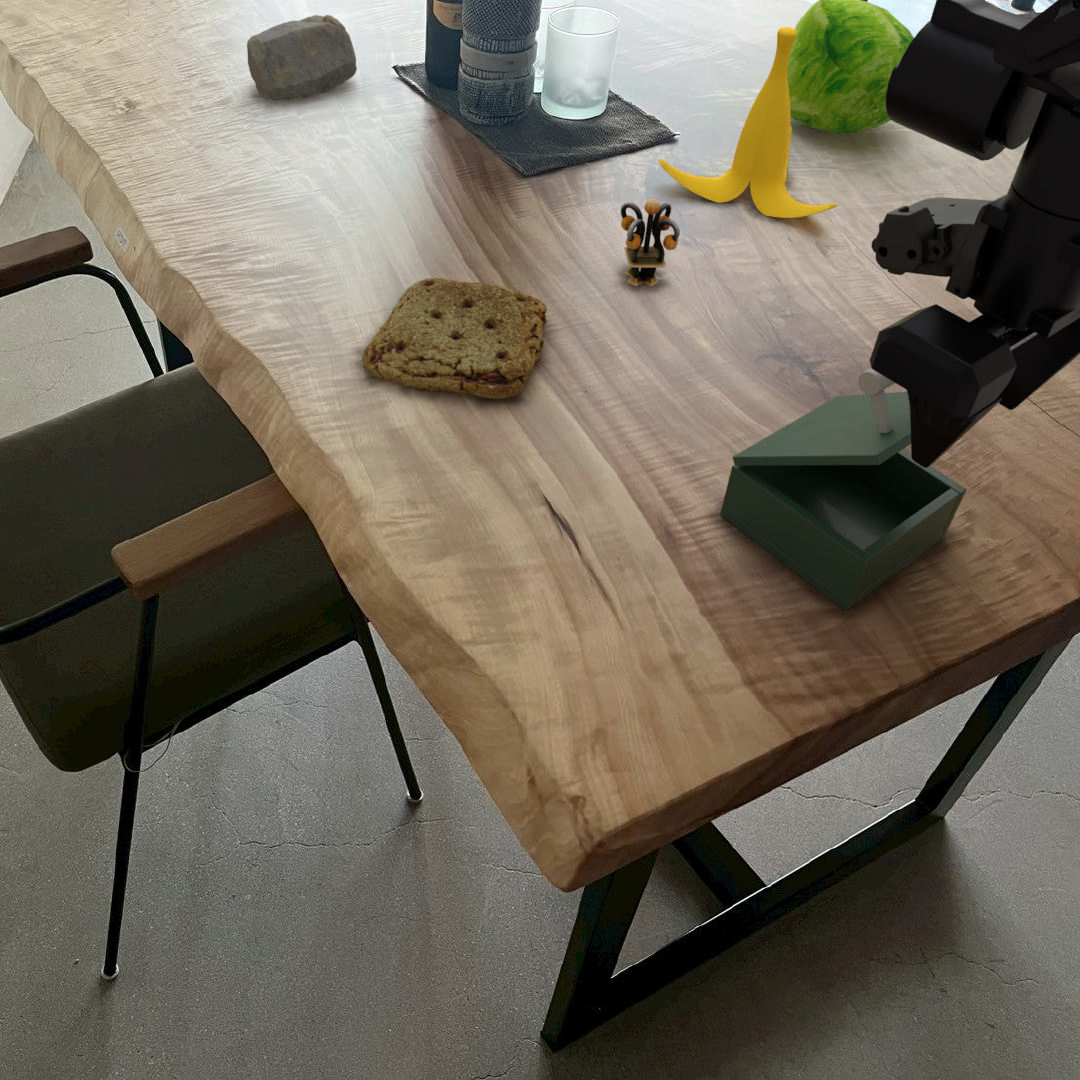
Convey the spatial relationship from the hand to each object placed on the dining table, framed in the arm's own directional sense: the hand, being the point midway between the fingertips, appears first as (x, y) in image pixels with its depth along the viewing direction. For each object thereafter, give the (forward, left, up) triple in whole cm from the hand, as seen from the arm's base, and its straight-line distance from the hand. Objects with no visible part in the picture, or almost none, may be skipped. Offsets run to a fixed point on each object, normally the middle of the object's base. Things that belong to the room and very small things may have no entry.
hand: (964, 433), depth 64 cm
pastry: (+33, -24, -13) cm, 43 cm away
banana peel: (+3, -54, -13) cm, 55 cm away
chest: (+4, -5, -13) cm, 14 cm away
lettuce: (-7, -75, -13) cm, 76 cm away
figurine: (+17, -37, -13) cm, 42 cm away
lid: (+5, -5, -4) cm, 8 cm away
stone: (+56, -74, -13) cm, 93 cm away
